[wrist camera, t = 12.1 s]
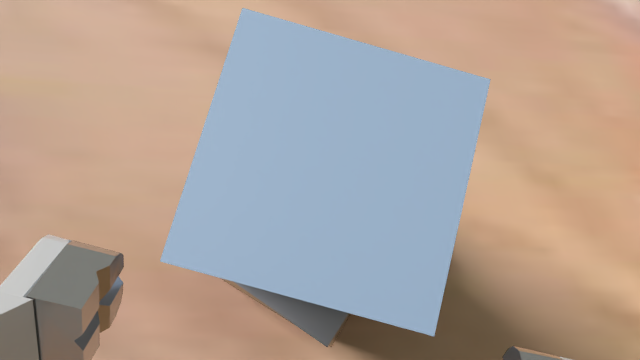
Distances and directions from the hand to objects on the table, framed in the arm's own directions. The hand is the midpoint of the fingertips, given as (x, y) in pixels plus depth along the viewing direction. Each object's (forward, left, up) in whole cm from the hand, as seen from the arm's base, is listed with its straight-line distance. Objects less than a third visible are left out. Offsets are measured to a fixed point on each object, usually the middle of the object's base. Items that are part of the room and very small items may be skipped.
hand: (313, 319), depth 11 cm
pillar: (+2, +1, -6) cm, 7 cm away
